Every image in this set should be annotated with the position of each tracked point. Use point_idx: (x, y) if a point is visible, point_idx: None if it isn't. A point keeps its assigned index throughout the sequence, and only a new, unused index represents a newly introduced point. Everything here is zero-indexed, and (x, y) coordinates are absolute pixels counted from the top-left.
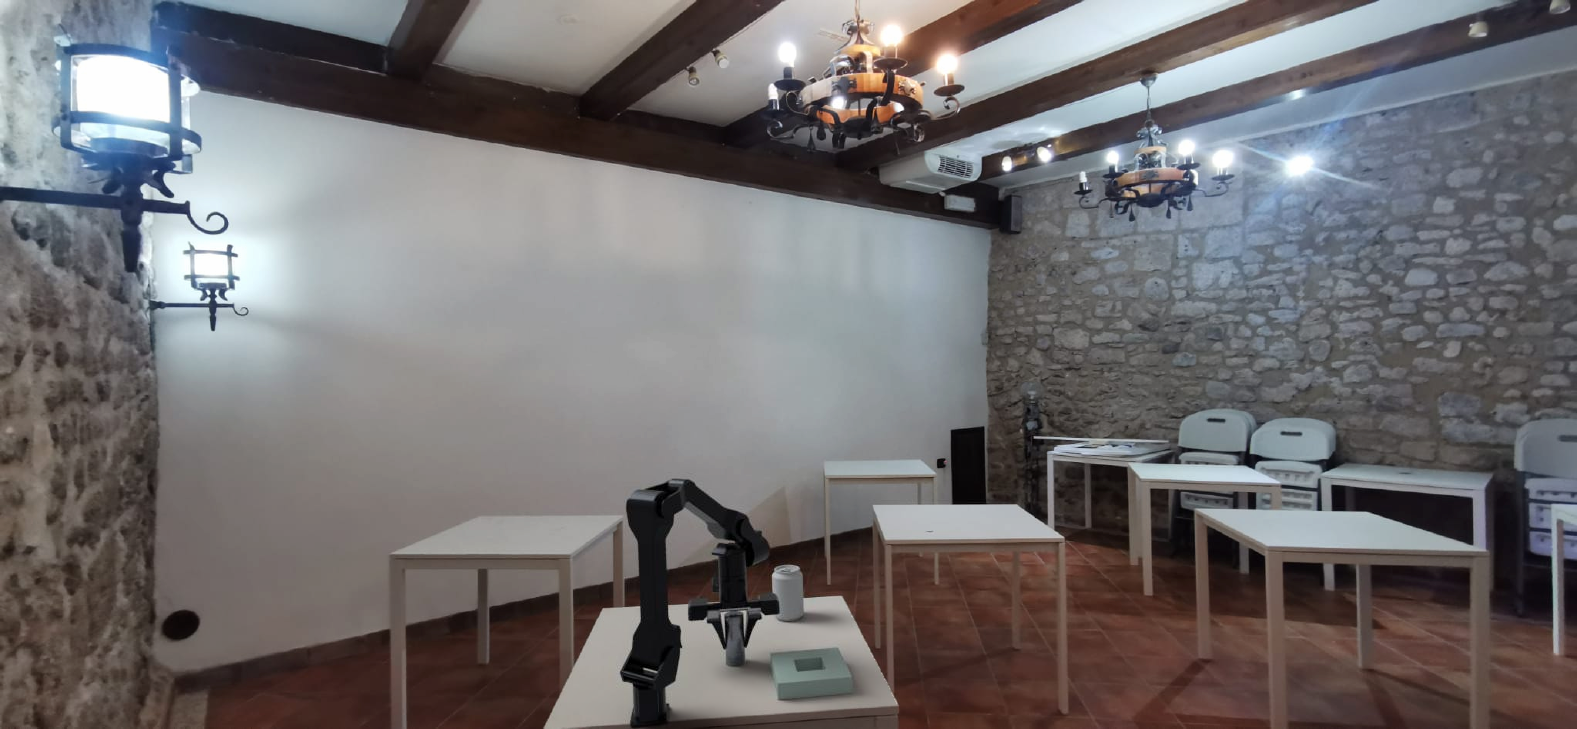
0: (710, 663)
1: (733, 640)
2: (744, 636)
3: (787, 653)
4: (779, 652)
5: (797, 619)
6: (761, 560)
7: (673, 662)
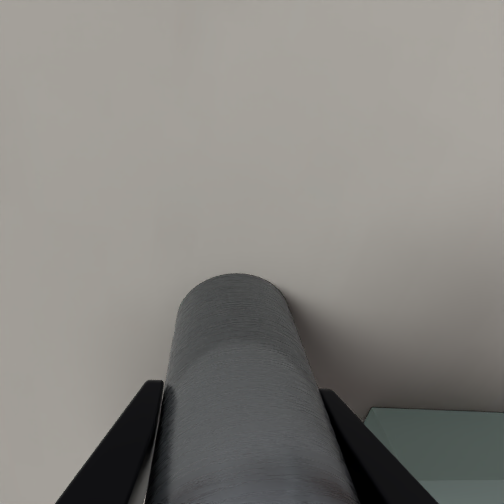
0: (75, 293)
1: None
2: (349, 448)
3: (474, 492)
4: (450, 481)
5: None
6: None
7: None
